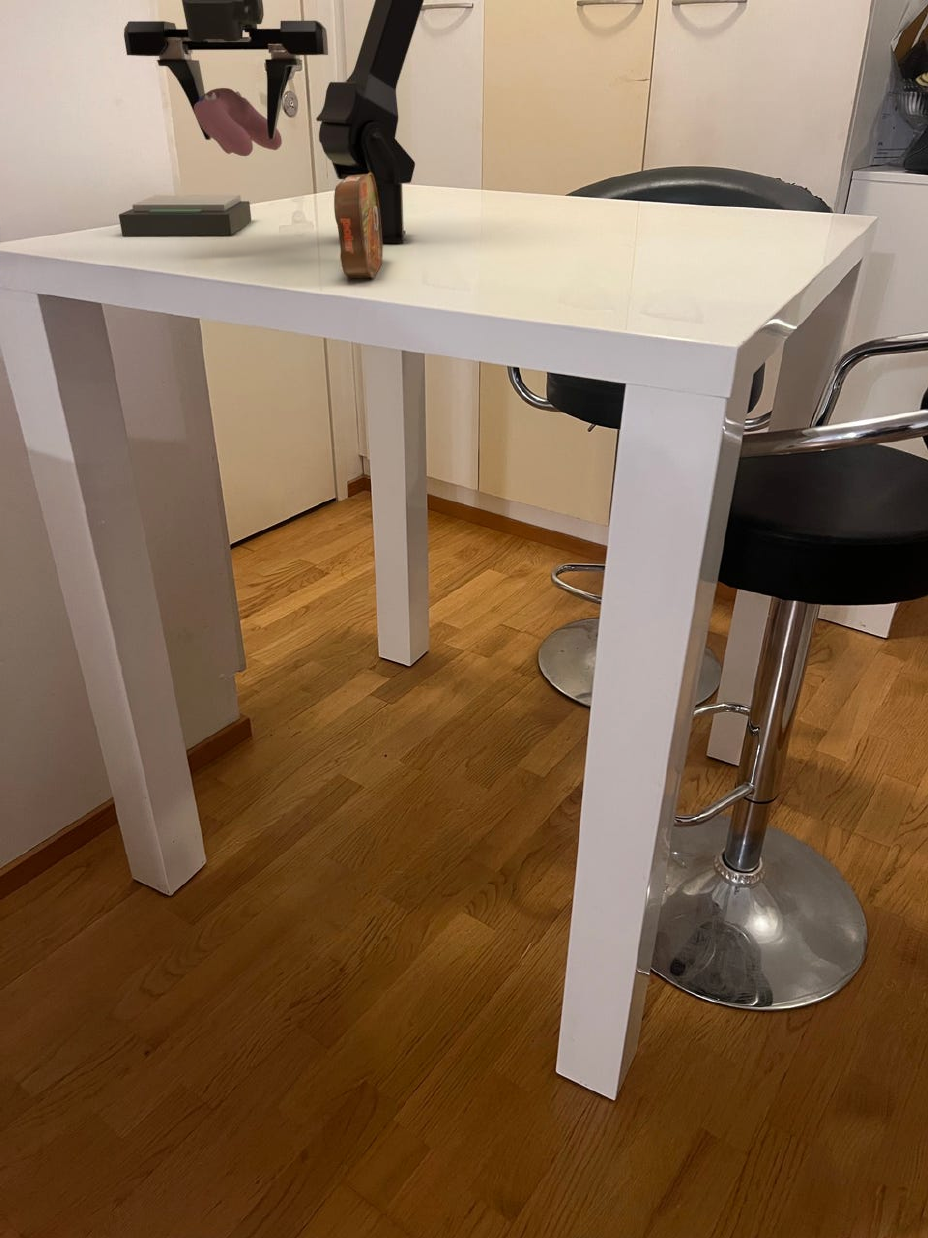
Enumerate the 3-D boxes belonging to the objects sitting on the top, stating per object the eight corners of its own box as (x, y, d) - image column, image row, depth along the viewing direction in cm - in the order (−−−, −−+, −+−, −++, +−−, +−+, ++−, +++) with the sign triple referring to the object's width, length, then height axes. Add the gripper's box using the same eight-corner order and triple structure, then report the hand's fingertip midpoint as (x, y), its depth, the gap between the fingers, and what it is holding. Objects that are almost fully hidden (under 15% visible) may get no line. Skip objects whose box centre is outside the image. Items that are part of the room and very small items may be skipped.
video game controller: (253, 164, 101) (218, 98, 98) (287, 143, 99) (252, 75, 97) (216, 173, 93) (177, 101, 90) (253, 150, 91) (214, 76, 88)
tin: (370, 285, 85) (364, 183, 81) (335, 285, 85) (328, 183, 81) (385, 257, 98) (381, 168, 94) (355, 257, 98) (350, 168, 94)
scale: (251, 220, 123) (248, 194, 121) (231, 235, 112) (228, 206, 110) (152, 221, 123) (148, 194, 121) (122, 235, 111) (117, 206, 110)
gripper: (91, -59, 80) (125, 145, 88) (310, -59, 81) (324, 143, 89) (126, -45, 90) (154, 138, 98) (322, -45, 90) (334, 136, 98)
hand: (239, 139), depth 95 cm, fingers closed on video game controller, 6 cm apart
